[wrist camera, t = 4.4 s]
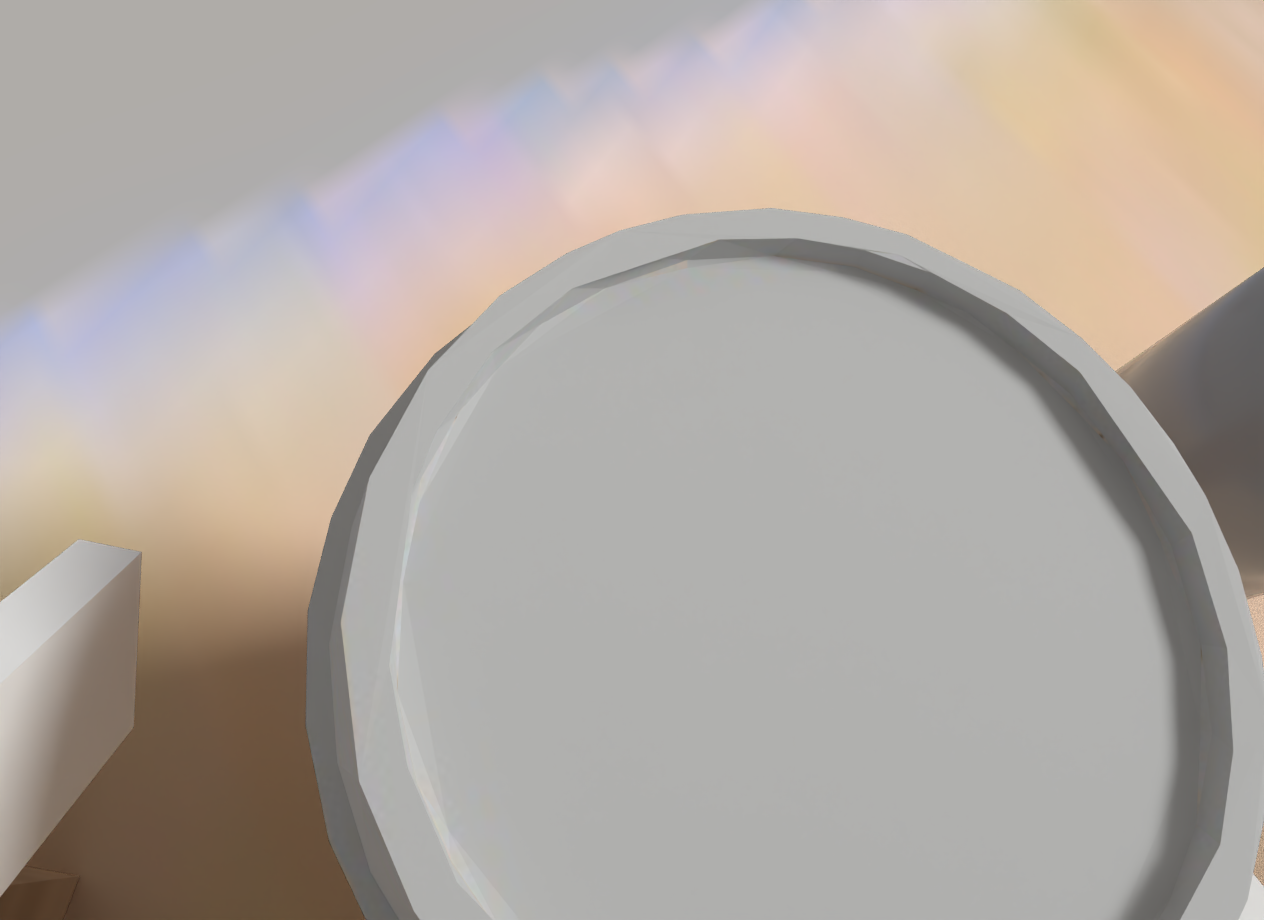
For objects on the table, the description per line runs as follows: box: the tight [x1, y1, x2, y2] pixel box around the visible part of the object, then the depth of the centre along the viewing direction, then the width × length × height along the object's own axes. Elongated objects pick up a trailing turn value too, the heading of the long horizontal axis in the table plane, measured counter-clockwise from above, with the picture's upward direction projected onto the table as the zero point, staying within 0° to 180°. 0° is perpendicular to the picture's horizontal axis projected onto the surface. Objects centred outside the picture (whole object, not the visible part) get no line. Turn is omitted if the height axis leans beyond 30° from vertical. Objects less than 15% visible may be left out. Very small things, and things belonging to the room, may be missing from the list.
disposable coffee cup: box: [306, 208, 1264, 920], centre depth 14 cm, size 10×10×12 cm
